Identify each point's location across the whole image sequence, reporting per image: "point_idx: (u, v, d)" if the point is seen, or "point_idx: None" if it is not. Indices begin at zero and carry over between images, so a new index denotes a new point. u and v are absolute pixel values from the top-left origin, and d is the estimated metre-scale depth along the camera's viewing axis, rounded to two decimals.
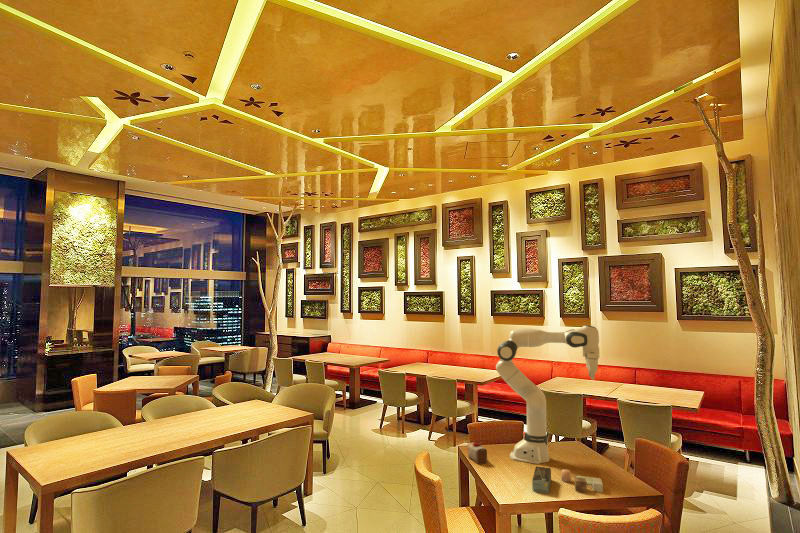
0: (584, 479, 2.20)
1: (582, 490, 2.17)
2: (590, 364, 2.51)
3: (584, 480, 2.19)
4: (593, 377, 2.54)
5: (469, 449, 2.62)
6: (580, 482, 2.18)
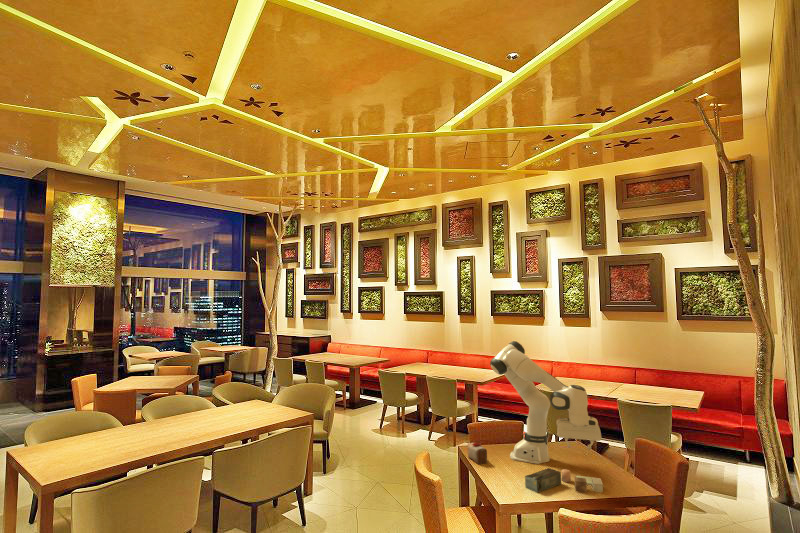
0: (584, 479, 2.20)
1: (582, 490, 2.17)
2: (600, 432, 2.18)
3: (584, 480, 2.19)
4: None
5: (469, 449, 2.62)
6: (580, 482, 2.18)
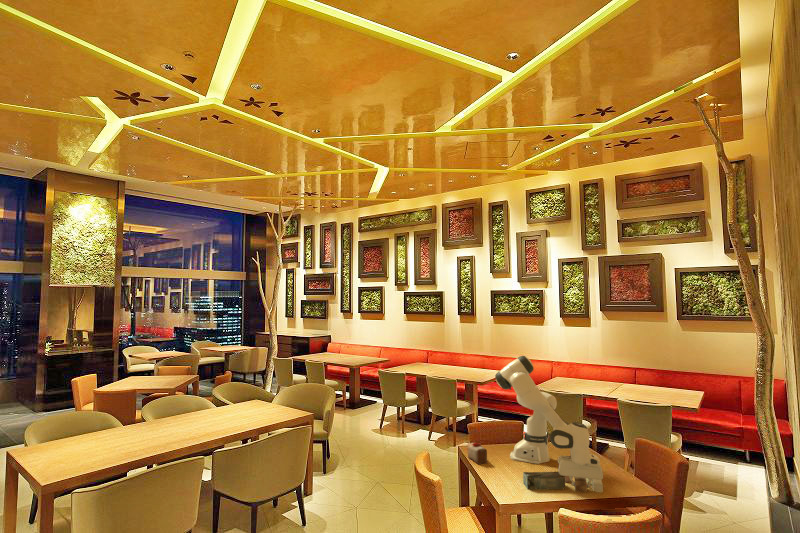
0: (584, 479, 2.20)
1: (582, 490, 2.17)
2: (602, 471, 2.16)
3: (584, 480, 2.19)
4: None
5: (469, 449, 2.62)
6: (580, 482, 2.18)
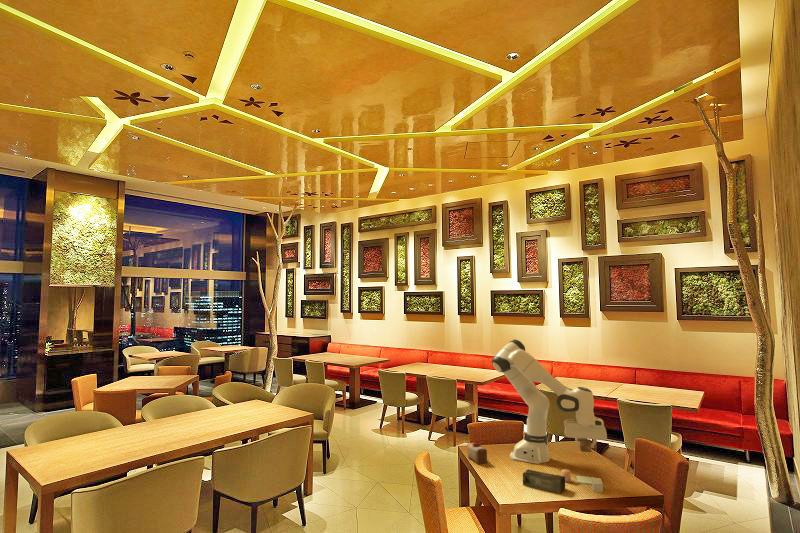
0: (589, 440, 2.32)
1: (587, 450, 2.30)
2: None
3: (589, 441, 2.32)
4: (593, 445, 2.32)
5: (469, 449, 2.62)
6: (585, 443, 2.30)
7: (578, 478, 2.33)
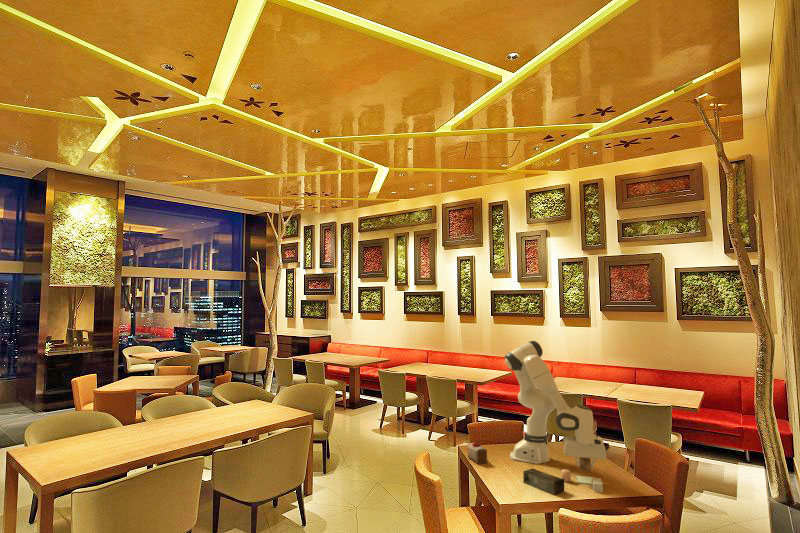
0: (588, 459, 2.31)
1: (586, 469, 2.29)
2: (605, 451, 2.28)
3: (588, 459, 2.31)
4: None
5: (469, 449, 2.61)
6: (585, 461, 2.29)
7: (578, 478, 2.33)
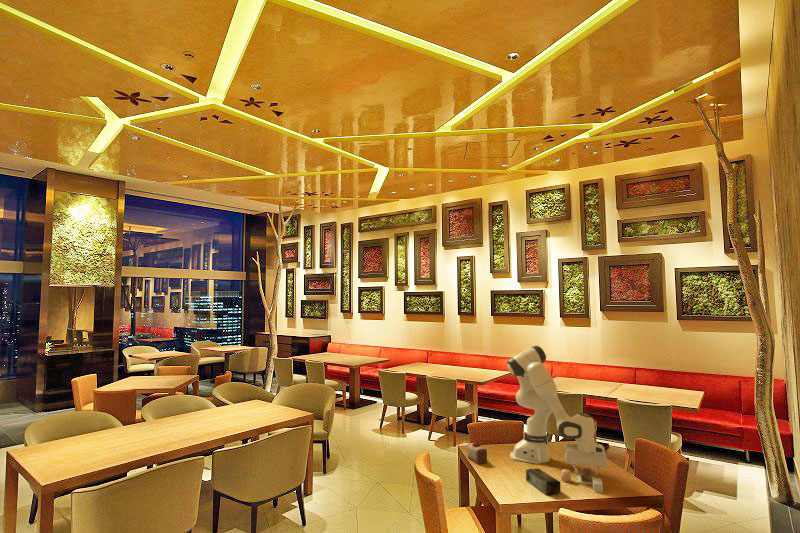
0: (589, 469, 2.31)
1: (588, 479, 2.29)
2: (606, 458, 2.28)
3: (589, 470, 2.30)
4: (597, 471, 2.30)
5: (469, 449, 2.61)
6: (586, 472, 2.29)
7: (578, 478, 2.33)
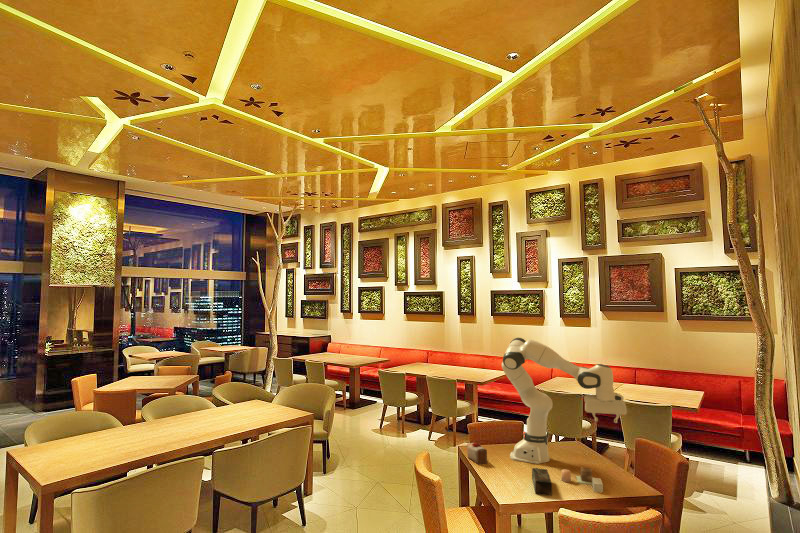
0: (589, 469, 2.31)
1: (588, 479, 2.29)
2: (625, 406, 2.36)
3: (589, 470, 2.30)
4: (617, 419, 2.38)
5: (469, 449, 2.61)
6: (586, 472, 2.29)
7: (578, 478, 2.33)
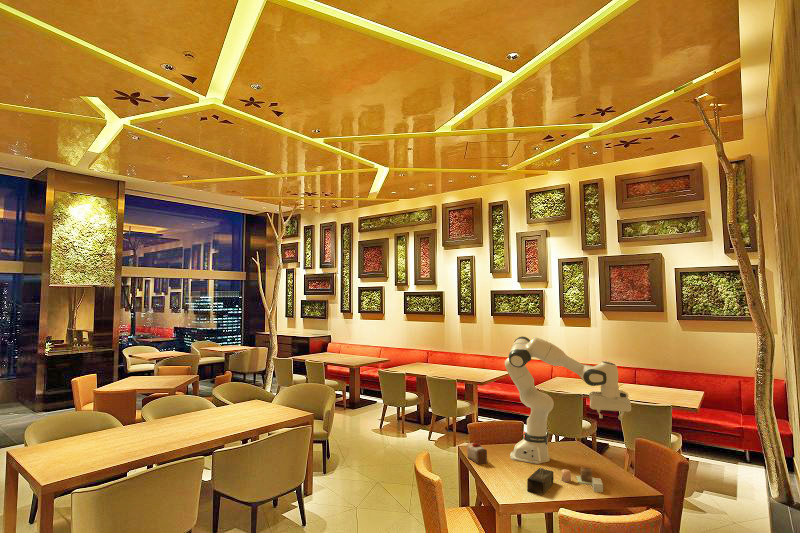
0: (589, 469, 2.31)
1: (588, 479, 2.29)
2: (630, 403, 2.38)
3: (589, 470, 2.30)
4: None
5: (469, 449, 2.61)
6: (586, 472, 2.29)
7: (578, 478, 2.33)
